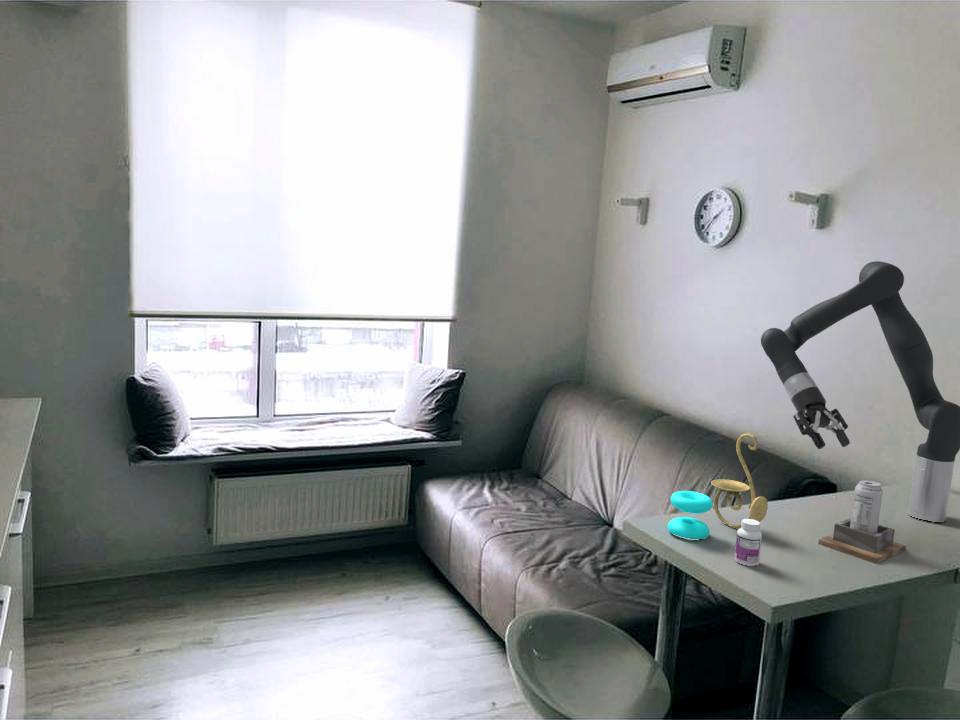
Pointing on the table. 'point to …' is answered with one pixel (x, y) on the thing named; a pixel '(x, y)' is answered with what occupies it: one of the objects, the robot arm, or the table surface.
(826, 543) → the socket board
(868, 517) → the energy drink can
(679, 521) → the donuts
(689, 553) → the table surface
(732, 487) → the wall sconce
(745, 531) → the pill bottle
